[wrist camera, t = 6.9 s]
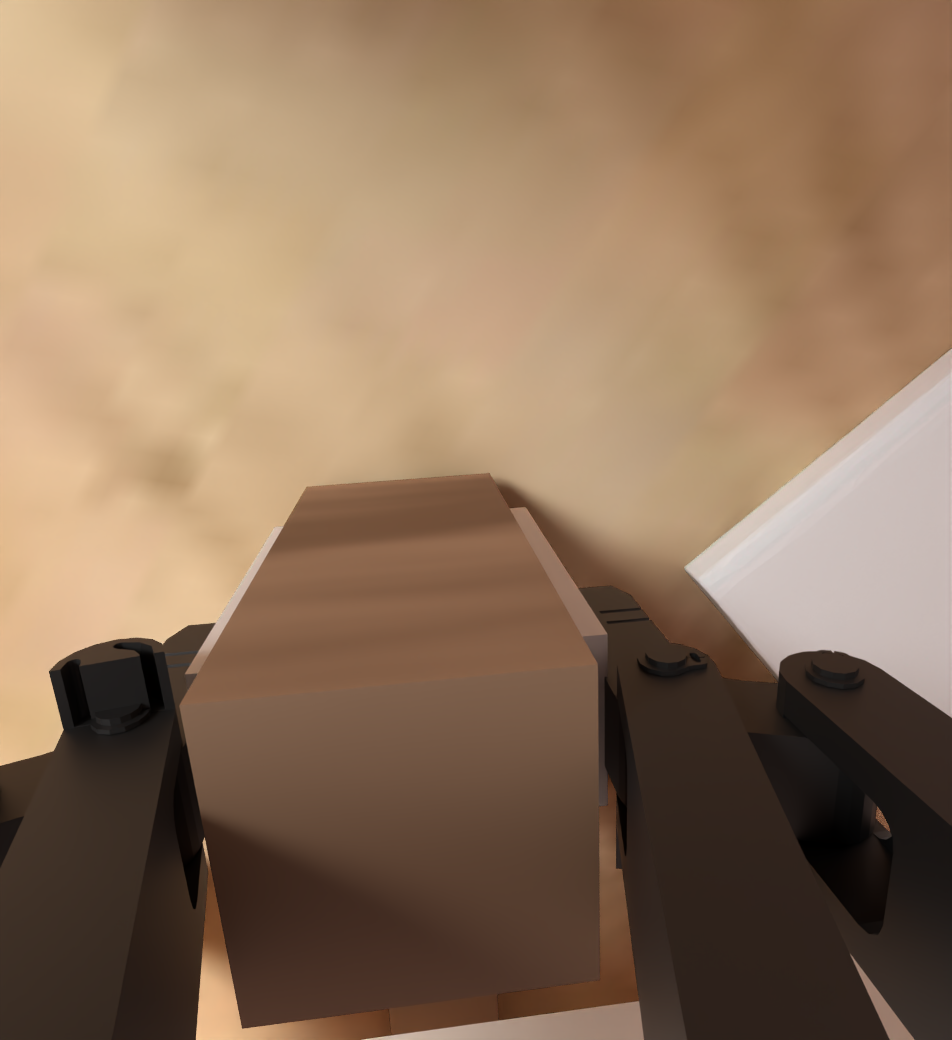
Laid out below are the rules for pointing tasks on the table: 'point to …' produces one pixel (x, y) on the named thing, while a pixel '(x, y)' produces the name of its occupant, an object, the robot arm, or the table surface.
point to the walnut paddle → (400, 764)
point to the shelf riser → (602, 1024)
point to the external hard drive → (854, 548)
